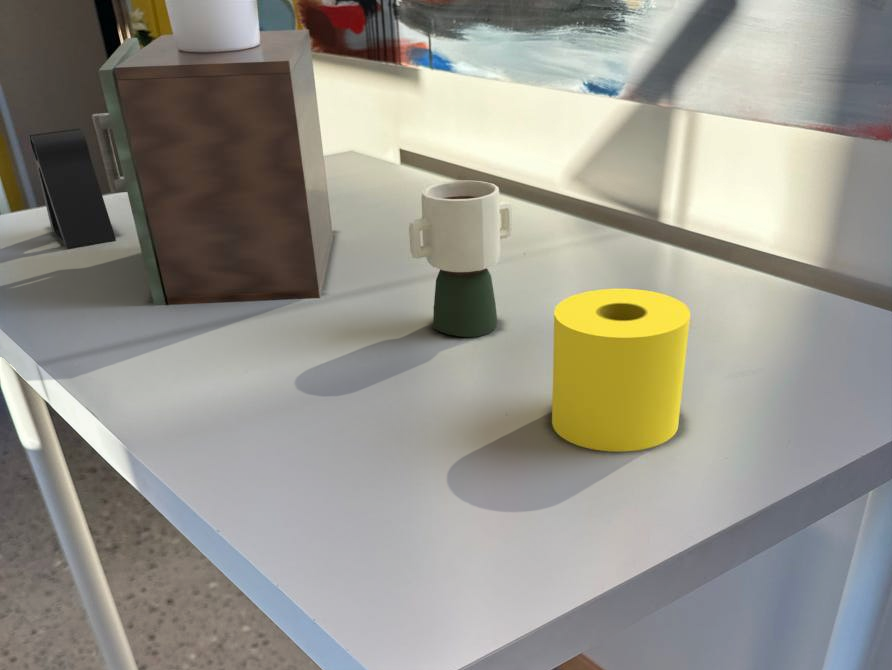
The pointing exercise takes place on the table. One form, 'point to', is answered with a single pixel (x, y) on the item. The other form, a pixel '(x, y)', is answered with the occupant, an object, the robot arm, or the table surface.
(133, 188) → the cupboard door
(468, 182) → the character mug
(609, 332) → the yellow toilet paper roll
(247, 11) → the white cup
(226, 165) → the cupboard
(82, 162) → the phone stand
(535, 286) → the table surface
